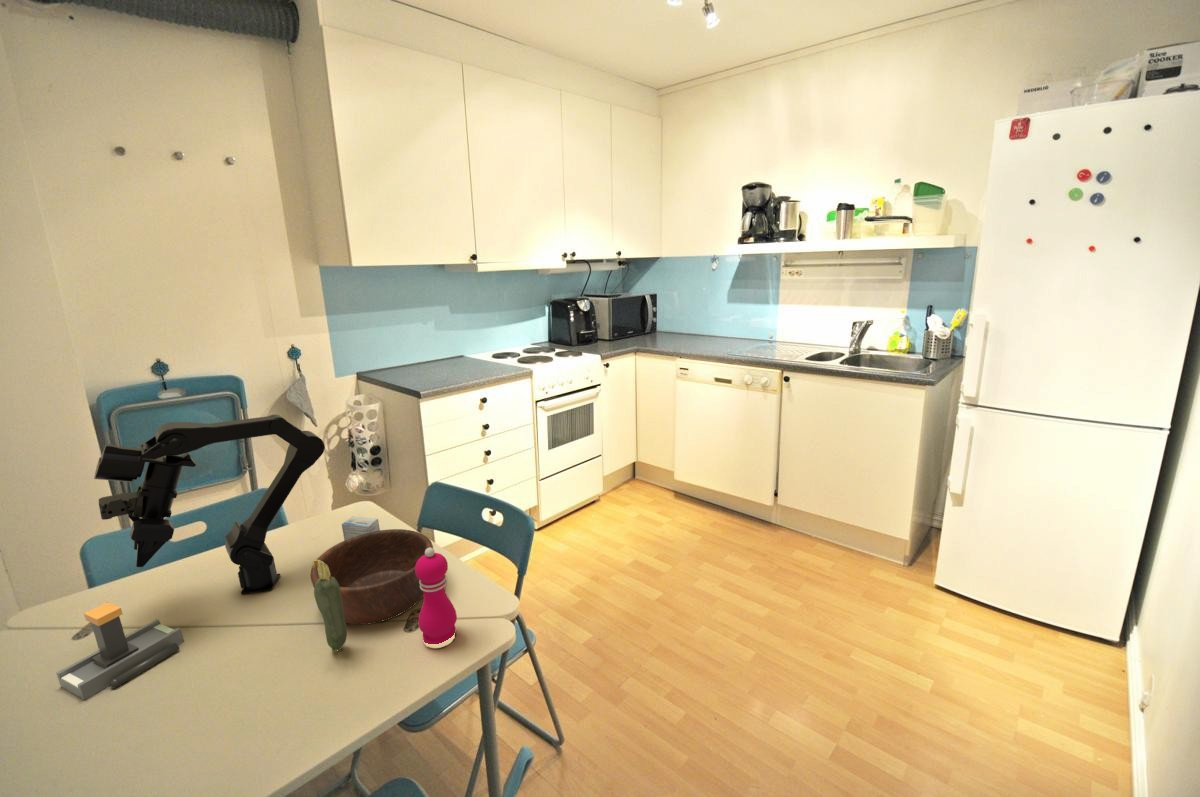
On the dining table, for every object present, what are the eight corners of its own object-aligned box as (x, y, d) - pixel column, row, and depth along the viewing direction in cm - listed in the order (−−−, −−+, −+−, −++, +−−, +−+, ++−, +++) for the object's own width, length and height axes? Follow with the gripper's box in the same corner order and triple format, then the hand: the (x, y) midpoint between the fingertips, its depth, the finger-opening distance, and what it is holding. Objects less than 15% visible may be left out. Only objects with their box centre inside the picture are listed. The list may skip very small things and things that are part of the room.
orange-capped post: (124, 644, 105) (111, 599, 102) (139, 651, 103) (126, 605, 100) (92, 661, 100) (78, 615, 98) (107, 669, 98) (92, 622, 96)
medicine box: (383, 548, 142) (379, 518, 140) (372, 557, 138) (368, 526, 136) (357, 545, 144) (352, 515, 142) (345, 554, 140) (340, 523, 137)
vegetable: (355, 647, 106) (340, 555, 100) (338, 662, 102) (321, 568, 97) (337, 642, 107) (321, 552, 102) (320, 657, 103) (302, 564, 98)
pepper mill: (463, 627, 110) (454, 538, 105) (451, 652, 104) (440, 559, 98) (429, 625, 111) (418, 538, 106) (414, 650, 104) (402, 557, 99)
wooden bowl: (443, 560, 135) (438, 523, 133) (430, 625, 112) (424, 581, 109) (336, 572, 131) (330, 534, 129) (300, 642, 108) (291, 597, 105)
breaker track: (153, 628, 113) (150, 616, 112) (190, 644, 108) (187, 631, 107) (54, 683, 99) (49, 669, 98) (91, 704, 94) (86, 689, 93)
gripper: (107, 467, 112) (85, 540, 112) (109, 494, 98) (84, 577, 98) (174, 473, 120) (154, 541, 119) (184, 499, 106) (161, 576, 106)
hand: (138, 557), depth 110 cm, fingers open, 9 cm apart
